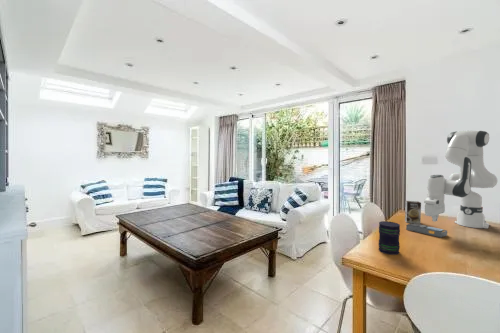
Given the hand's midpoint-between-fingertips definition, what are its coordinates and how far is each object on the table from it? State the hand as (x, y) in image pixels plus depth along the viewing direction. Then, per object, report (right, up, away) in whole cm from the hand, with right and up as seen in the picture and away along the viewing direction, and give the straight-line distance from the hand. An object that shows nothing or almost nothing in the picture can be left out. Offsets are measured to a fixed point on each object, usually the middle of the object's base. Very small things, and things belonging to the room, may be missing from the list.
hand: (434, 221), depth 157 cm
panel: (0, -8, +1) cm, 8 cm away
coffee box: (+6, -8, +30) cm, 31 cm away
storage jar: (-45, -10, -27) cm, 54 cm away
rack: (-2, -9, +5) cm, 10 cm away
